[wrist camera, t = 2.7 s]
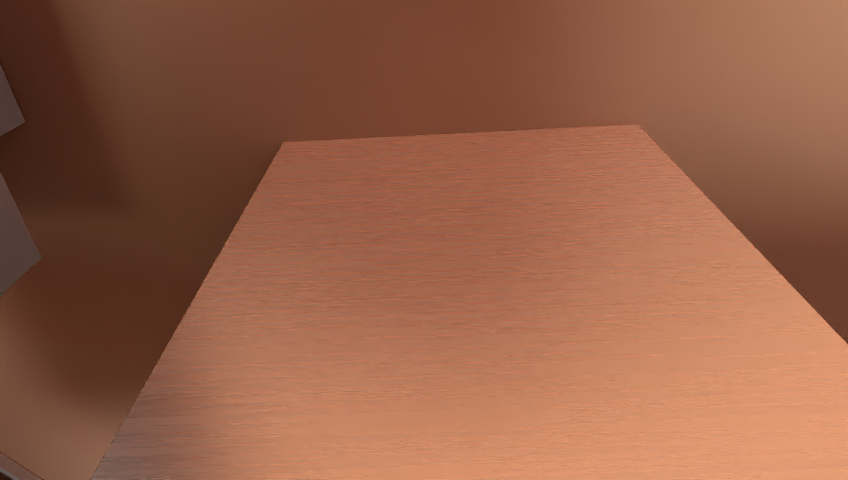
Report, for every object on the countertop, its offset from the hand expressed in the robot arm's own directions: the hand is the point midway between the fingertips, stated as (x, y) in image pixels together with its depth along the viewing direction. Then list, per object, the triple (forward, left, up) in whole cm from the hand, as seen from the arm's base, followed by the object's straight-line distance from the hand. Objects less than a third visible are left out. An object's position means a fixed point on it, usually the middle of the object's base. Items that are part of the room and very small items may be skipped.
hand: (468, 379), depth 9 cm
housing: (0, 0, -1) cm, 1 cm away
